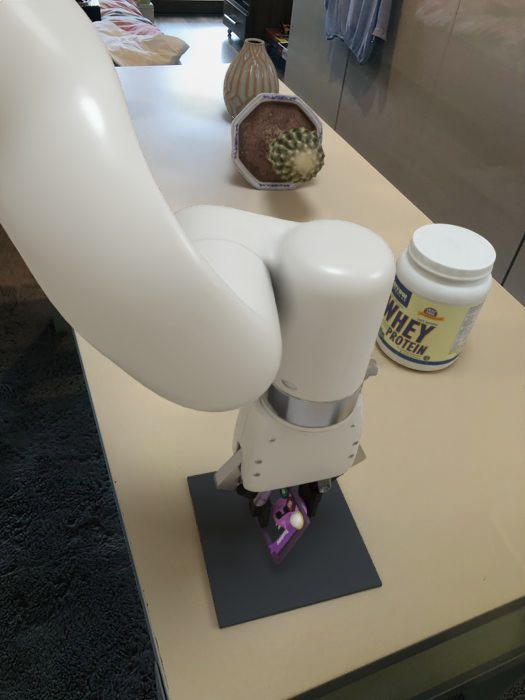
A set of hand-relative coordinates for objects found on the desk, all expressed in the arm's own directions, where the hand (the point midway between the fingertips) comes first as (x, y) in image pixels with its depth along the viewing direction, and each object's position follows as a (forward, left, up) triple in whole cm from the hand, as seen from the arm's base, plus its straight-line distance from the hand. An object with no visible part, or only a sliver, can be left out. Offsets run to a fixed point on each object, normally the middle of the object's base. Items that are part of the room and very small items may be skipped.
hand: (283, 508), depth 54 cm
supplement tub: (+28, +23, -4) cm, 37 cm away
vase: (+25, +105, -4) cm, 108 cm away
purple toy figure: (0, 0, -2) cm, 2 cm away
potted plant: (+21, +70, -4) cm, 73 cm away
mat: (0, 0, -4) cm, 4 cm away
